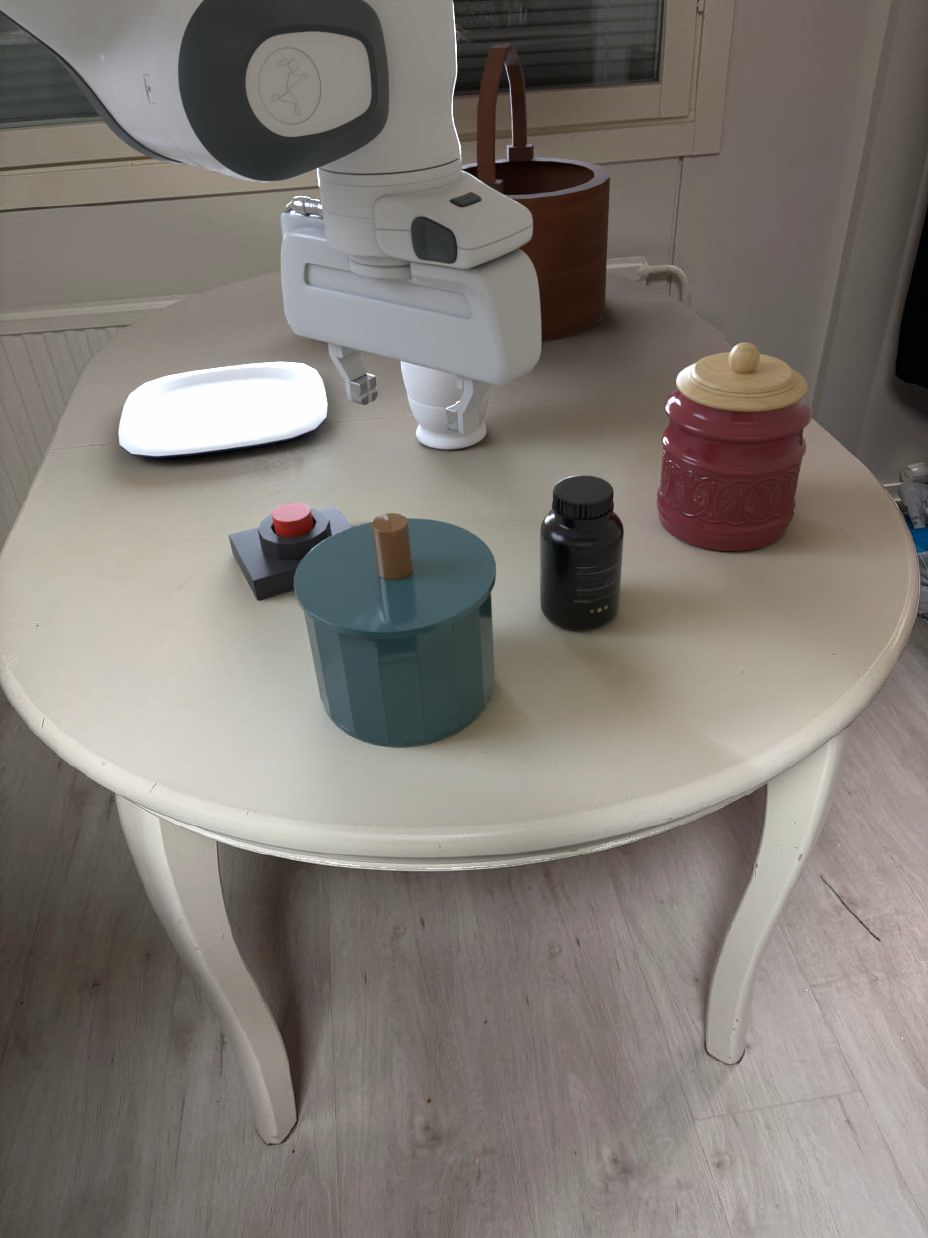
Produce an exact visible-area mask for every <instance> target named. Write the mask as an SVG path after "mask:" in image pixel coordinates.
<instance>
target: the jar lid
mask: <svg viewBox="0 0 928 1238" xmlns="http://www.w3.org/2000/svg"><path fill="white" fill-rule="evenodd" d="M496 579H497V563H496V558H495V556H494V554H493V552H492V550H491V548H490V547H489V546H488V544H487V543H486V542H485V541H483V539H482V538H480V536H478V535H476V534H475V533H473V532H472V531H469V530H468V529H466V528H464V527H461V526H458V525H455V524H452V523H449V522H445V521H441V520H437V519H429V518H420V517H419V518H417V517H416V518H415V517H407V516H406V515H404V514H402V513H397V512H386V513H381V514H380V515H377V516H375V517H374V518H373V519H372V520H371V521H369V522H365V523H361V524H358V525H354V526H352V527H351V528H348V529H346V530H343V531H341V532H338V533H336V534H334V535H332V536H330V537H328V538H327V539H325V540H324V541H322V542H320V543H319V544H318V545H316V546H315V547H314V548H313V549H311V550H310V551H309V552H308V553H307V554H306V555H305V557H304V558H303V559H302V561H301V562H300V563H299V565H298V567H297V569H296V572H295V576H294V590H293V591H294V595H295V600H296V602H297V604H298V606H299V607H300V608H301V610H302V612H303V614H304V613H306V614H307V615H308V616H309V617H310V618H311V619H312V620H314V621H315V622H317V623H318V624H320V625H322V626H324V627H326V628H328V629H330V630H333V631H336V632H339V633H342V634H346V635H350V636H355V637H362V638H375V639H391V638H403V637H411V636H416V635H421V634H425V633H429V632H432V631H436V630H439V629H441V628H444V627H447V626H449V625H451V624H453V623H455V622H457V621H460V620H461V619H463V618H465V617H466V616H468V615H469V614H471V613H472V612H473V611H475V610H476V609H477V608H478V607H480V605H481V604H482V603H483V602H484V601H485V600H486V599H487V597H488V596H489V594H490V593H491V594H492V592H493V589H494V587H495V584H496Z"/></svg>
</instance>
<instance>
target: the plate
mask: <svg viewBox="0 0 928 1238" xmlns="http://www.w3.org/2000/svg"><path fill="white" fill-rule="evenodd" d="M328 407H329V405H328V398H327V393H326V387H325V385H324V381H323V378H322V377H321V375H320V374H319V372H318V370H317V369H315V368H313V367H311V366H310V365H307V364H305V363H303V362H291V361H290V362H289V361H274V362H273V361H271V362H270V361H269V362H257V363H248V364H247V363H246V364H238V365H230V366H222V367H215V368H207V369H200V370H192V371H187V372H181V373H176V374H175V373H174V374H170V375H165V376H162V377H159V378H156V379H153V380H149V381H146V382H144V383H143V384H141V385H140V386H138V387H137V388H136V389H135V390H133V391H131V392H130V393H129V395H128V397H127V399H126V401H125V403H124V405H123V408H122V411H121V416H120V421H119V425H118V430H117V431H118V442H119V443H118V444H119V446H120V447H121V448H122V449H123V450H124V451H126V452H127V453H129V454H130V455H131V456H137V457H147V458H156V459H161V458H162V459H163V458H174V457H188V456H197V455H205V454H212V453H221V452H228V451H234V450H241V449H242V450H243V449H249V448H256V447H261V446H266V445H267V446H268V445H272V444H277V443H281V442H288V441H291V440H294V439H297V438H299V437H303V436H304V435H307V434H310V433H312V432H315V431H316V430H317V429H318V428H319V427H320V426H321V425H322V424H323V423H324V422H325V421H326V420H327V418H328Z"/></svg>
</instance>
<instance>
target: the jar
mask: <svg viewBox="0 0 928 1238" xmlns="http://www.w3.org/2000/svg"><path fill="white" fill-rule="evenodd" d="M400 369H401V376H402V381H403V384H404V388H405V390H406V393H407V401H408V404H409V407H410V410H411V413H412V415H413V417H414V419H415V421H416V422H417V424H418V426H417V428H416V431H415V436H416V438H417V440H418V442H420V444H422V445H424V446H426V447H428V448H432V449H435V450H446V451H448V450H450V451H451V450H461V449H465V448H469V447H472V446H474V445H477V444H478V443H480V442H481V441H482V440H483V439H484V438H485V437H486V435H487V433H488V430H487V426H486V424H485V422H484V419H485V416H486V414H487V411H488V409H489V403H490V398H491V388H492V385H491V386H490V387H489V389H488V391H487V393H486V394H485V396H484V398H483V400H482V402H481V403H480V404H479V426H478V428H477V430H475V431H474V432H472V433H471V434H469V435H464V434H460V433H457V432H453V431H450V430H448V428H447V423H448V422H449V421H448V419H447V414H446V409H447V408H448V407H450V406H452V405H456V403H457V402H459V401H460V399H461V397H462V395H463V392H464V390H460V389H458V388H457V383H456V375H453V374H450V373H446V372H442V371H438V370H434V369H430V368H426V367H422V366H418V365H414V364H410V363H406V362H402V361H400Z"/></svg>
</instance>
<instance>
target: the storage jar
mask: <svg viewBox="0 0 928 1238" xmlns="http://www.w3.org/2000/svg"><path fill="white" fill-rule="evenodd" d="M492 608H493V607H492V592H491V593H490V594H489V596H488V597H487V599H486V600H485V601H484V602H483V603H482V604H481V605H480V607H478V608H477V609H476V610H475V611H473V612H472V613H471V614H469V615H468V616H466V617H465V618H463V619H461V620H460V621H457V622H455V623H453V624H451V625H449V626H447V627H444V628H441V629H439V630H436V631H432V632H429V633H425V634H421V635H416V636H411V637H403V638H391V639H375V638H362V637H355V636H350V635H346V634H342V633H339V632H336V631H333V630H330V629H328V628H326V627H324V626H322V625H320V624H318V623H317V622H315V621H314V620H312V619H311V618H310V617H309V616H308V615H307V614H306V613H304V612H303V614H304V618H305V624H306V625H305V626H306V630H307V634H308V640H309V646H310V651H311V656H312V662H313V666H314V672H315V676H316V682H317V688H318V693H319V697H320V700H321V702H322V704H323V708H324V710H325V712H326V714H327V716H328V717H329V719H330V720H331V721H332V722H333V724H334V725H335V726H336V727H337V728H338V729H340V730H341V731H343V732H344V733H345V734H347V735H349V736H350V737H353V738H354V739H357V740H360V741H362V742H365V743H368V744H372V745H375V746H377V745H378V746H383V747H395V748H396V747H400V748H401V747H415V746H422V745H427V744H432V743H435V742H438V741H442V740H445V739H447V738H450V737H452V736H454V735H456V734H457V733H459V732H462V731H463V730H464V729H466V728H467V727H469V726H470V725H471V724H473V723H474V722H475V721H476V720H477V719H479V717H481V715H482V714H483V713H484V711H486V709H487V707H488V705H489V703H490V702H491V699H492V696H493V692H494V688H495V686H496V682H495V681H496V680H495V679H496V678H495V657H494V655H495V654H494V633H493V632H494V630H493V609H492Z"/></svg>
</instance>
